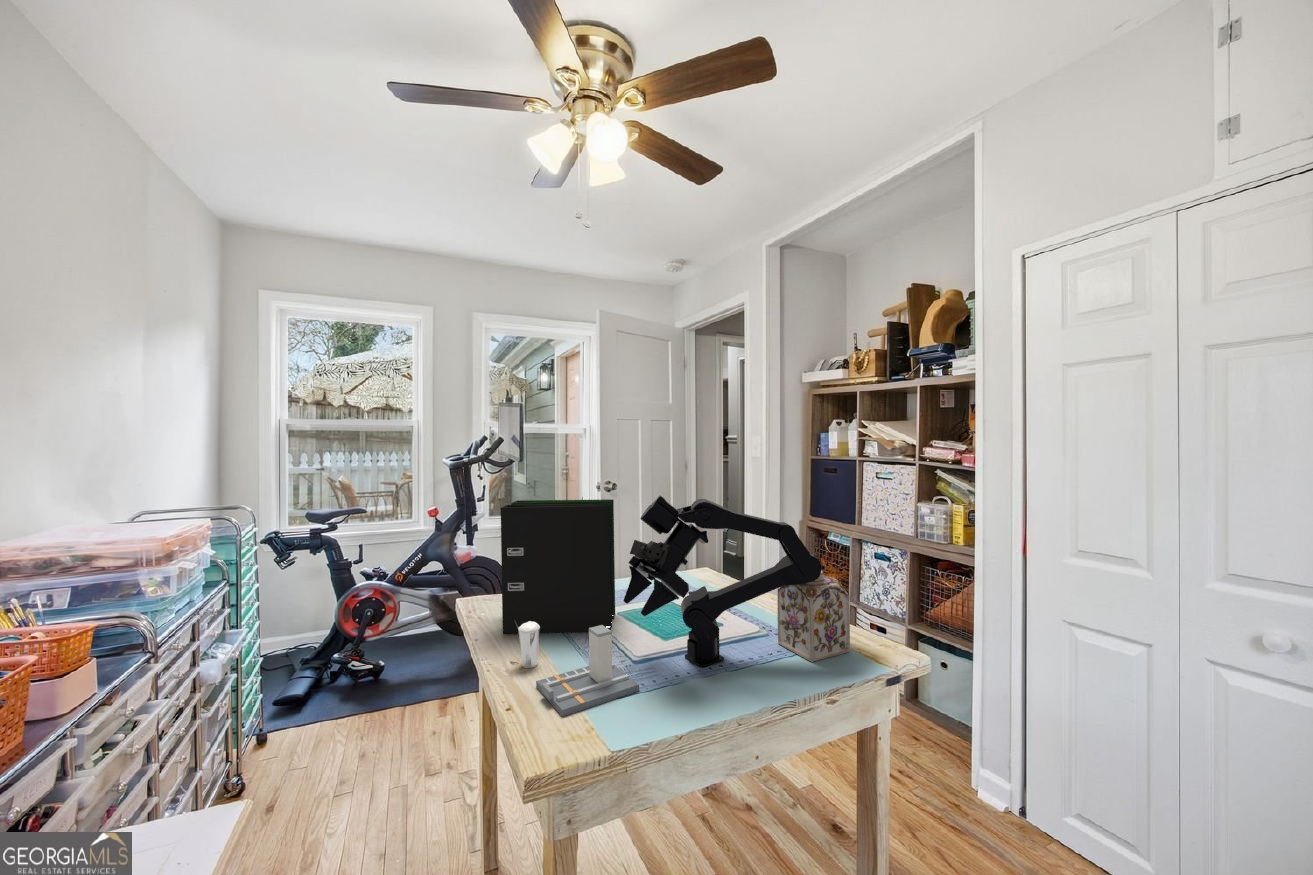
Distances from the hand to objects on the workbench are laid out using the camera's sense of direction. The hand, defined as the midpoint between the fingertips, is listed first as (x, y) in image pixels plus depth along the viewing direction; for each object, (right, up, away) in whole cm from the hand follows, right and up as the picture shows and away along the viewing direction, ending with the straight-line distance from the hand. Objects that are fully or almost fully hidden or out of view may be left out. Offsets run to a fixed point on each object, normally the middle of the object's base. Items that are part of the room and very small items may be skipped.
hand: (633, 608), depth 107 cm
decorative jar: (+41, -13, +11) cm, 44 cm away
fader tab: (-6, -12, -5) cm, 15 cm away
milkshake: (-23, -14, +4) cm, 27 cm away
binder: (-20, -14, +28) cm, 37 cm away
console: (-9, -14, -7) cm, 17 cm away
